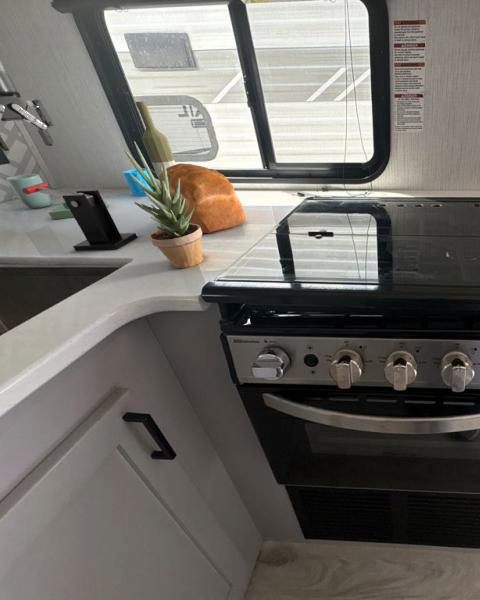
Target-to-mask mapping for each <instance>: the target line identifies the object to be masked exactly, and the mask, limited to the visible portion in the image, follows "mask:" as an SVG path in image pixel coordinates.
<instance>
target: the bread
mask: <svg viewBox="0 0 480 600" xmlns="http://www.w3.org/2000/svg"><path fill="white" fill-rule="evenodd" d="M166 171H167V177H168V184H169V192H170V196H171V197H172V196H173V194H174V192H175V190H176V187H177V182H178V178H179V180H180V191H179V196H180V194H181V195H182V197H181V202H182V201H183V199H185V202H184V208H183V211H182V213H183V212H184V210H185V208H186V206H187V205H189V206H188V209H187V211H186V213H185V215H184V217H185V216H186V215H187V214H188V213H189V212H190V211H191V210H192V209H193V208H194V207H195V208H194V210H193V212H192V215H191V218H190V220H189V222H188V223H192V224H198V225H199V226H200V228H201V231H202V234H211V233H217V232H220V231H224V230H227V229H230V228H233V227H235V226H239V225H241V224H242V223H244V222H245V220H246V214H245V211H244V208H243V205H242V203H241V201H240V199H239V198H238V196H237V195H236V192H235V188H234V186H233V184H232V183H231V182H230V180H229V179H228V178H227V177H226V176H225V175H224V174H222V173H221V172H219V171H217V170H215V169H214V168H209V167H206V166H202V165H197V164H192V163H181V162H179V163H176V165H173V166H170V167H167V168H166ZM158 180H160V181H159V187H160V188H162V183H161V175H160V176H159V178H158Z"/></svg>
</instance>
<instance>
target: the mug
mask: <svg viewBox="0 0 480 600" xmlns="http://www.w3.org/2000/svg"><path fill="white" fill-rule="evenodd" d="M141 169H142V170H143V172H144V173H145V174H146V175H147V177H148V178H149V179H150V177H149V175H148V173H147V171H146V169H145V167H144V168H141ZM128 172H129V173H131V174H132V175H133V176H134V177H135V178H137V179H138V180H139V181H140V182H141V183H143V184H144V185H145V186H146V187H148V188H149V189H150V190H152V189H151V188H150V187H149V185H148V184H147V183H146V182H145V180H144V179H143V178H142V176H141V175H140V174H139V172H138V171H137V169H136V168H134V169H127V170H124V171H123V172H122V174H123V175H124V178H125V179H126V182H127V184H128V186H129V189H130V191H131V193H132V195H133V196H134V197H144V196H147V195H146V194H145V192H144V190H143V189H142V188H141V187H140V186H139V185H138V184H137V183H136V182H135V180H134V179H133V178H132V177H131V176H130V174H129V173H128ZM150 180H151V179H150Z"/></svg>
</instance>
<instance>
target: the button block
mask: <svg viewBox="0 0 480 600" xmlns="http://www.w3.org/2000/svg"><path fill="white" fill-rule="evenodd" d="M102 199H103V201H104V203H105V205H106V207H107V208H108V206H109V205H108V203H107V201H106V199H105V198H102ZM48 214H49V215H50V217H51V219H52V220H54V221H55V220H61V219H68V218H74V216H73V214H72V213H71V211H70V209H69V207H68V206H67V204H66V202H65V200H64V199H63V200H62V201H61V204H58V205H57V206H56V207H55V208H53V209H52V210H51V211H49V213H48Z"/></svg>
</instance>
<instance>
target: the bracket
mask: <svg viewBox="0 0 480 600" xmlns="http://www.w3.org/2000/svg"><path fill="white" fill-rule="evenodd" d="M75 192H76V193H74V195H73V194H72V195H63V196H62V197H63V198H62V199H63V201H64V200H65V202H66V204H67V206H68V207H69V209H70V211H71V213H72V214H73V216H74V217H73V218H74V220H75V221H76V223H77V225H78V226H79V227H78V228H79V229H80V230H81V232H82V233H83V236H84V237H85V240H82V241H81V242H79V243H76V244H74V245H73V246H72V247H73V249H74V251H76V252H77V251H79V252H81V251H110V250H118V249H120V248H122V247H123V246H125V245H127V244H129V243H130V242H132V241H133V240H135V239H137V238H138V235H137V233H136V232H126V233H125V232H124V233H121V232H120V231H119V229H118V227H117V225H116V223H115V221H114V219H113V217H112V216H111V213H110V211H109V209H108V206H107V207H106V205H105V203H104V201H103V199H104V198H102V196H101V193H100V192H99V190H98V189H78V190H76V191H75ZM78 193H83V194H78ZM85 194H88V195H92V196H94V201H95V206H93V207H91V205H90V203H89V201H88V199H87V198H86V196H85Z"/></svg>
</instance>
